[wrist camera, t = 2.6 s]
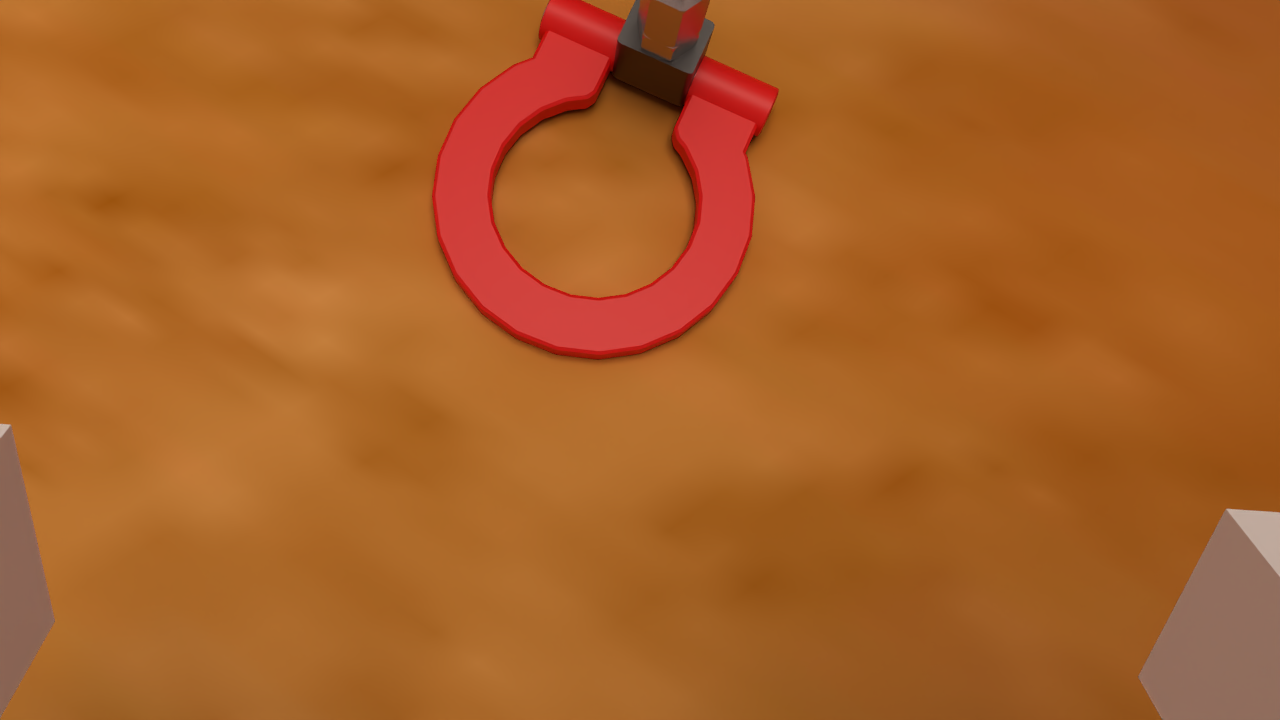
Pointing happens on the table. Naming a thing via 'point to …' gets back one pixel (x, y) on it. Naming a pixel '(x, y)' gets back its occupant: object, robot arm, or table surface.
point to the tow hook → (572, 79)
